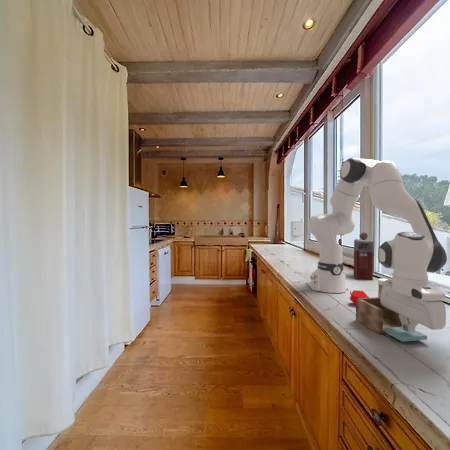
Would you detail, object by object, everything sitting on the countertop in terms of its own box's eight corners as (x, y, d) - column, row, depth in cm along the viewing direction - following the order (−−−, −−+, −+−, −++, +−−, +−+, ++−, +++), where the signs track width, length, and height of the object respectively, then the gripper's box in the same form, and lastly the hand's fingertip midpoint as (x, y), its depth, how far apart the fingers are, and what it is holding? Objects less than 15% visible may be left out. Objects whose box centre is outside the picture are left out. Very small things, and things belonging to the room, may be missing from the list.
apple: (372, 292, 112) (353, 283, 115) (371, 299, 107) (351, 290, 110) (365, 304, 115) (346, 296, 118) (364, 312, 109) (345, 303, 112)
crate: (355, 319, 96) (356, 298, 95) (384, 318, 97) (384, 296, 97) (379, 334, 84) (379, 310, 84) (411, 332, 85) (411, 308, 85)
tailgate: (384, 327, 84) (401, 337, 77) (407, 326, 85) (427, 335, 78) (384, 331, 84) (401, 341, 77) (407, 330, 85) (427, 339, 78)
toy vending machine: (356, 280, 154) (357, 232, 153) (353, 276, 165) (354, 231, 164) (373, 281, 151) (374, 233, 150) (369, 277, 162) (370, 232, 161)
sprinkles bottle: (374, 311, 104) (375, 278, 103) (385, 311, 104) (386, 277, 104) (382, 316, 99) (383, 281, 99) (394, 315, 100) (394, 280, 99)
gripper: (375, 278, 89) (374, 318, 89) (430, 297, 69) (428, 348, 69) (392, 277, 90) (391, 317, 90) (451, 296, 69) (449, 347, 70)
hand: (408, 331), depth 80 cm, fingers closed
